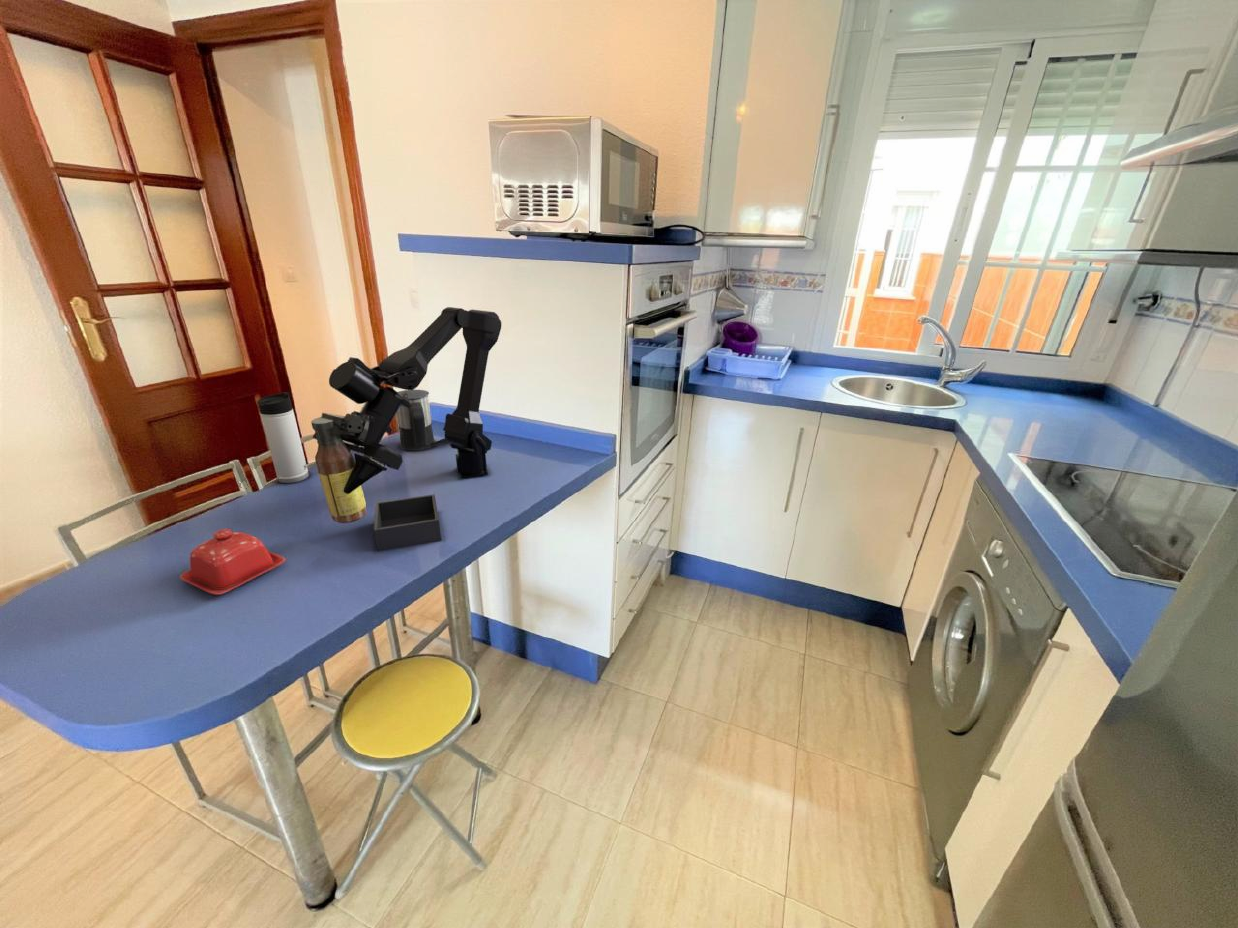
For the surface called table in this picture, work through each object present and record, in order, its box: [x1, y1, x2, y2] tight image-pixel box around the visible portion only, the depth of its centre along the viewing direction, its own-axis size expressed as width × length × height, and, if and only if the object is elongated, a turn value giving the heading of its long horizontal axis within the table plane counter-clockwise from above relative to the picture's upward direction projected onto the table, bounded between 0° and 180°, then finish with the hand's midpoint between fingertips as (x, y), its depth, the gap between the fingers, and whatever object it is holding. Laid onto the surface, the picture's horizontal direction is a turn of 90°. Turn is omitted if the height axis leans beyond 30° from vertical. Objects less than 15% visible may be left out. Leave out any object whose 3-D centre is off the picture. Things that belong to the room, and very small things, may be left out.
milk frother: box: [395, 389, 448, 451], centre depth 137 cm, size 14×16×15 cm
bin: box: [373, 493, 442, 552], centre depth 98 cm, size 11×11×4 cm
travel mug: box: [257, 392, 310, 484], centre depth 115 cm, size 6×7×20 cm
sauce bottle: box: [310, 416, 367, 524], centre depth 92 cm, size 7×6×20 cm
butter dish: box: [179, 528, 287, 596], centre depth 83 cm, size 12×12×8 cm
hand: (334, 488), depth 93 cm, fingers closed on sauce bottle, 6 cm apart
